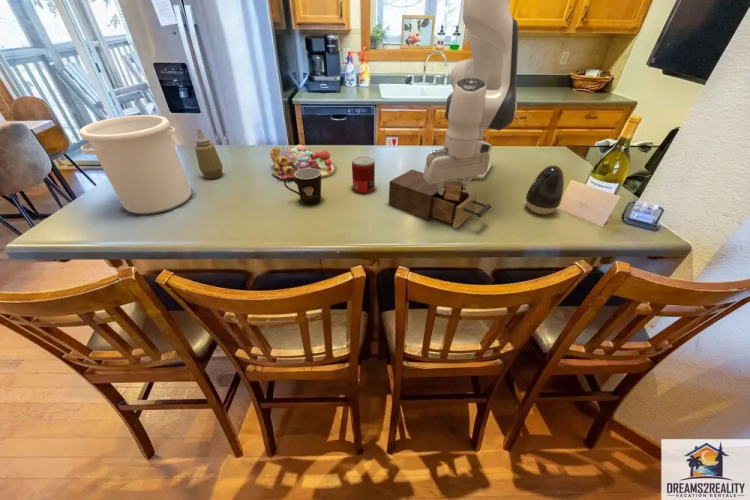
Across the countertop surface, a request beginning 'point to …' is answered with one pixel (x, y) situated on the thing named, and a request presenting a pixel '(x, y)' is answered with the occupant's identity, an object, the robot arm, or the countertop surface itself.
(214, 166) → the squeeze bottle
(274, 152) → the candy landscape model
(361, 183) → the canned food
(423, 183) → the cabinet
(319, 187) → the coffee mug
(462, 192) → the drawer
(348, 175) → the countertop surface
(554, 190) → the dark egg ornament
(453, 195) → the block
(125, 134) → the bucket
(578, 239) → the countertop surface
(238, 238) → the countertop surface
